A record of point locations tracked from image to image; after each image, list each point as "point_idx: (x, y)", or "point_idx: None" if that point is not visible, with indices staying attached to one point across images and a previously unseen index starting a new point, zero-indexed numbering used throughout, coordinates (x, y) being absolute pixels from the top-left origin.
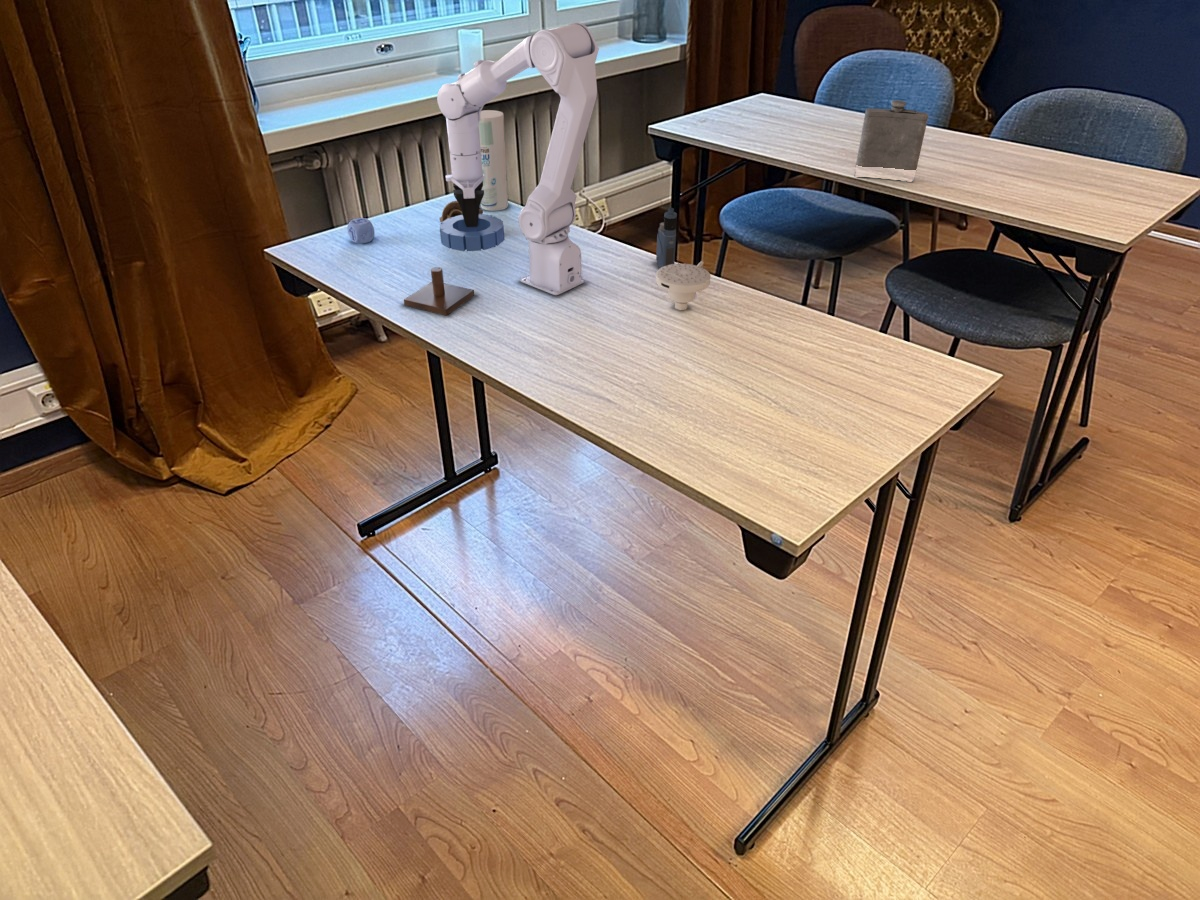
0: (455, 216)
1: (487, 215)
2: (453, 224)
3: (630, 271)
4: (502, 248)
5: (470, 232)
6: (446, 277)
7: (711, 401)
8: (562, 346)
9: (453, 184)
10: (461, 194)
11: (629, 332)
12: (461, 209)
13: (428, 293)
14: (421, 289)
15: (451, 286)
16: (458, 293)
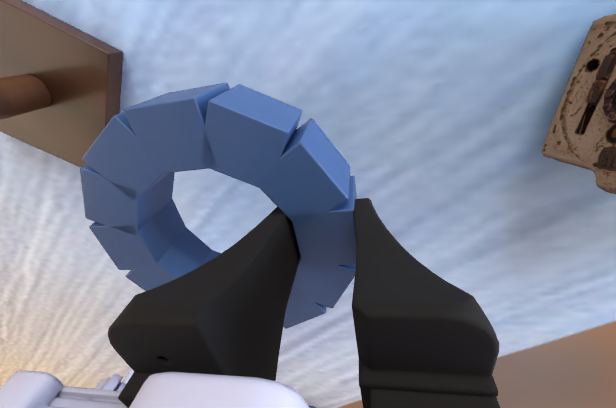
0: (321, 173)
1: (333, 295)
2: (218, 169)
3: (283, 381)
4: (411, 223)
5: (136, 242)
6: (195, 83)
7: (14, 372)
8: (25, 291)
9: (410, 317)
10: (125, 355)
11: (102, 350)
12: (226, 251)
13: (22, 55)
14: (34, 23)
15: (95, 119)
16: (67, 142)
